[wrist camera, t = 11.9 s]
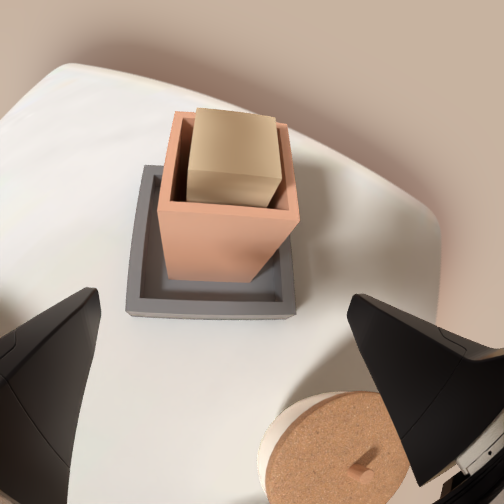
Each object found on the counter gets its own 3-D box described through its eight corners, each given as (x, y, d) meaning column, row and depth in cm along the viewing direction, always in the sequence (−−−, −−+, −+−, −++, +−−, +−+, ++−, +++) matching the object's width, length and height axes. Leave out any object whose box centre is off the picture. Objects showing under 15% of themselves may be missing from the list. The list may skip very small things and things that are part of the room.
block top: (256, 163, 17) (275, 117, 14) (259, 220, 16) (282, 179, 12) (191, 157, 16) (196, 107, 13) (185, 215, 15) (188, 169, 11)
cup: (247, 212, 26) (286, 124, 16) (249, 282, 23) (300, 221, 13) (174, 206, 24) (175, 111, 14) (168, 279, 22) (157, 210, 12)
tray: (275, 190, 28) (283, 175, 26) (285, 319, 23) (296, 314, 21) (146, 181, 25) (144, 165, 23) (131, 316, 21) (125, 311, 18)
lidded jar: (355, 480, 19) (419, 510, 10) (242, 501, 17) (275, 561, 8) (358, 379, 23) (433, 378, 14) (241, 388, 21) (279, 406, 12)
